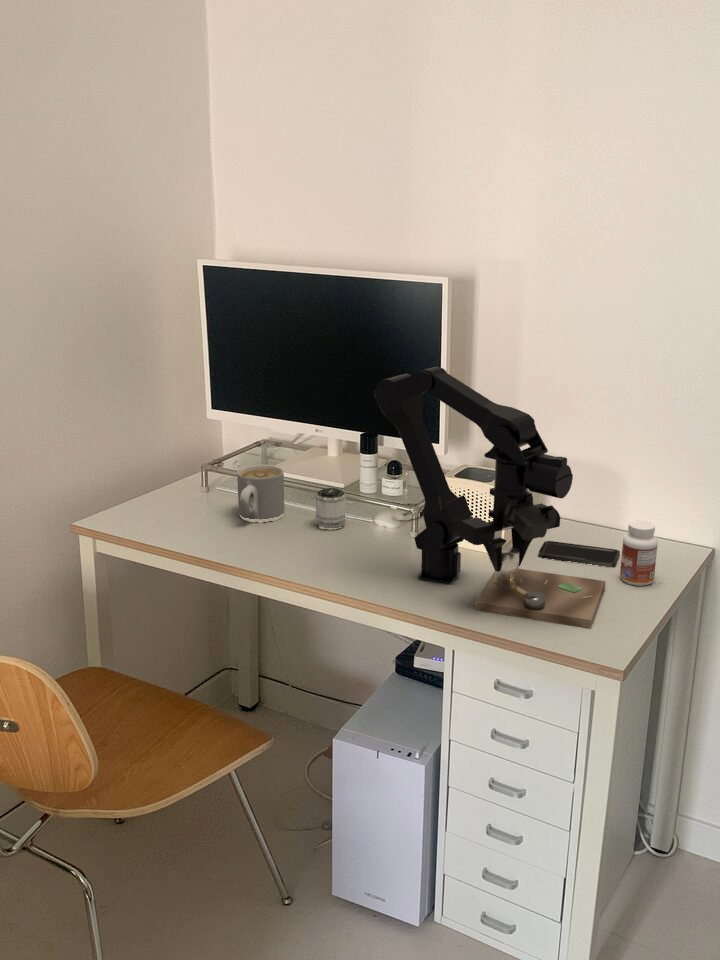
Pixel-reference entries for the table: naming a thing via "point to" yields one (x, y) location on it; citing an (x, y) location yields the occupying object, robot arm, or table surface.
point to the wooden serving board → (563, 600)
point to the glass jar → (330, 508)
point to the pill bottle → (639, 553)
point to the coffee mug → (260, 491)
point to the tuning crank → (516, 579)
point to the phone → (579, 553)
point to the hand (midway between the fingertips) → (507, 568)
